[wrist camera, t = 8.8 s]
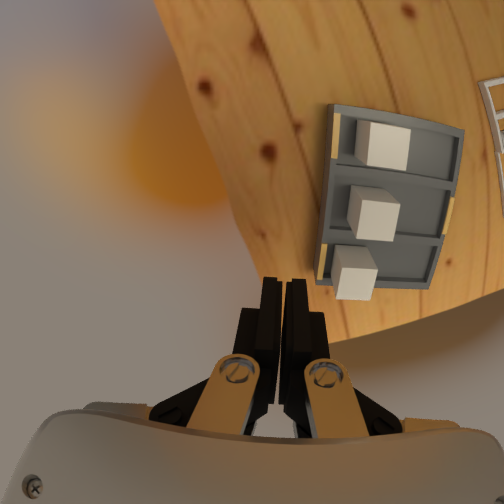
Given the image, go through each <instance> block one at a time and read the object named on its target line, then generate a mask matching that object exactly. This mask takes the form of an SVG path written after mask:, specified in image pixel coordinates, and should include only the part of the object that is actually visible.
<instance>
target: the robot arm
mask: <svg viewBox="0 0 504 504" xmlns="http://www.w3.org/2000/svg"><path fill="white" fill-rule="evenodd" d="M281 315H282V281H277V278H276V277H264V279H263V287H262V295H261V304H260V309H255V308H242V310H241V314H240V319H239V324H238V329H237V334H236V339H235V343H234V348H233V353H232V354H231V355H227V356H225V357H223V358H222V359H220V360H219V361H218V362H217V364H216V365H215V367H214V369H213V372H212V374H211V376H210V378H208V379H206V380H204V381H202V382H200V383H198V384H196V385H194V386H192V387H190V388H188V389H186V390H184V391H182V392H180V393H179V394H176V395H174V396H172V397H170V398H168V399H166V400H164V401H162V402H160V403H158V404H157V405H155V406H154V407H148V406H147V404H135V403H134V404H133V403H113V402H92V403H90V404H88V405H86V406H85V407H84V408H83V409H73V410H66V411H60V412H57V413H55V414H52V415H51V416H49V417H48V418H47V419H46V420H45V421H44V422H43V423H42V424H41V425H40V427H39V428H38V429H37V431H36V432H35V434H34V435H33V437H32V438H31V440H30V441H29V443H28V445H27V447H26V449H25V450H24V452H23V454H22V456H21V458H20V460H19V462H18V464H17V466H16V468H15V471H14V473H13V475H12V478H11V480H10V482H9V485H8V487H7V489H6V492H5V494H4V497H3V500H2V502H1V504H504V450H503V449H502V447H501V445H500V443H499V442H498V440H497V439H496V438H495V437H494V436H493V435H491V434H490V433H487V432H485V431H482V430H478V429H471V428H464V427H460V426H459V425H458V424H457V423H455V422H453V421H449V420H431V419H417V418H405V419H404V420H399V419H398V418H397V417H396V416H395V415H394V414H392V413H391V412H389V411H388V410H386V409H385V408H383V407H382V406H380V405H379V404H377V403H376V402H374V401H372V400H371V399H370V398H368V397H367V396H365V395H364V394H362V393H361V392H359V391H358V390H357V389H355V388H354V387H353V386H352V383H351V380H350V378H349V375H348V372H347V370H346V368H345V367H344V366H343V365H342V364H340V363H339V362H337V361H335V360H332V359H330V354H329V347H328V338H327V331H326V324H325V317H324V313H323V312H309V307H308V296H307V285H306V279H293V278H292V282H287V283H286V294H285V305H284V315H283V325H282V336H281ZM280 344H281V359H280V383H279V404H283V405H284V413H285V414H286V415H288V416H289V417H290V418H291V419H292V420H293V429H294V435H295V438H276V437H275V438H274V437H260V436H259V437H258V436H253V434H254V431H255V427H256V424H257V419H259V418H260V417H262V416H263V415H265V414H266V413H267V411H268V404H274V398H275V391H276V383H277V374H278V366H279V357H280Z"/></svg>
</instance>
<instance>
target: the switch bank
mask: <svg viewBox="0 0 504 504" xmlns="http://www.w3.org/2000/svg"><path fill="white" fill-rule="evenodd" d="M357 119H358V120H365V121H372V122H378V123H384V124H390V125H395V126H399V127H403V128H407V129H411V133H410V143H409V152H408V159H407V167H406V171H404V170H397V169H390V168H383V167H376V166H368V165H366V164H364V163H363V162H362V161H361V160H359V159H358V158H357V157H355V156H354V153H355V141H356V129H357ZM464 132H465V130H462V129H458V128H455V127H451V126H448V125H444V124H440V123H436V122H432V121H428V120H424V119H420V118H415V117H410V116H406V115H401V114H396V113H390V112H385V111H379V110H373V109H367V108H360V107H353V106H346V105H338V104H328V117H327V134H326V148H325V162H324V174H323V185H322V196H321V206H320V215H319V224H318V233H317V241H316V249H315V257H314V265H313V269H314V276H315V283H316V285H328V286H333V283H332V279H331V274H330V273H331V267H332V261H333V255H334V248H335V245H348V246H362V247H367V248H368V250H369V252H370V254H371V256H372V258H373V260H374V262H375V264H376V266H377V268H378V272H377V276H376V280H375V284H374V288H396V289H429V286H430V283H431V280H432V277H433V274H434V271H435V268H436V265H437V262H438V258H439V255H440V252H441V248H442V245H443V241H444V237H445V235H446V234H447V231H448V227H449V223H450V219H451V214H452V210H453V206H454V201H455V197H454V196H455V191H456V186H457V180H458V175H459V169H460V162H461V156H462V148H463V141H464ZM351 185H355V186H364V187H373V188H382V189H385V190H386V191H387V192H388V193H389V194H390V195H392V196H393V197H394V198H395V199H396V200H397V201H398V202H399V203H400V209H399V215H398V220H397V225H396V229H395V234H394V239H393V242H392V241H379V240H367V239H356V237H355V235H354V233H353V231H352V229H351V227H350V225H349V223H348V221H347V213H348V205H349V198H350V190H351Z"/></svg>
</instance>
